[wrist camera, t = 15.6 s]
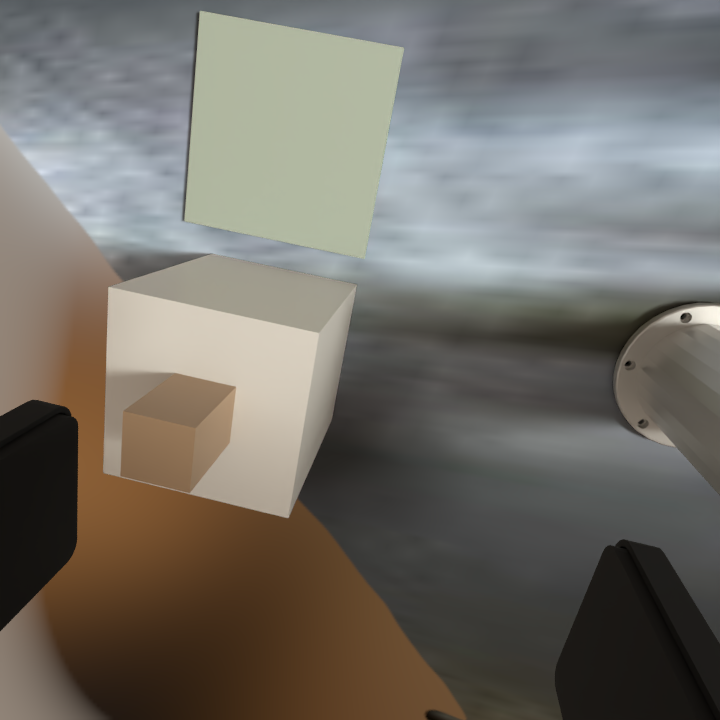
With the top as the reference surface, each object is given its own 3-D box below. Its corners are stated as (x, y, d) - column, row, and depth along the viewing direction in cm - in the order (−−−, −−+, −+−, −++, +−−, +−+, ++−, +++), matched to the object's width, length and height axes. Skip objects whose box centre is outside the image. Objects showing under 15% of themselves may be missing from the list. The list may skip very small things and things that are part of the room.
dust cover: (357, 284, 47) (293, 365, 26) (332, 419, 51) (260, 580, 30) (212, 253, 48) (39, 308, 27) (199, 388, 52) (43, 525, 31)
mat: (404, 48, 41) (403, 47, 40) (364, 258, 46) (364, 258, 46) (202, 12, 42) (199, 10, 41) (186, 220, 47) (184, 221, 47)
